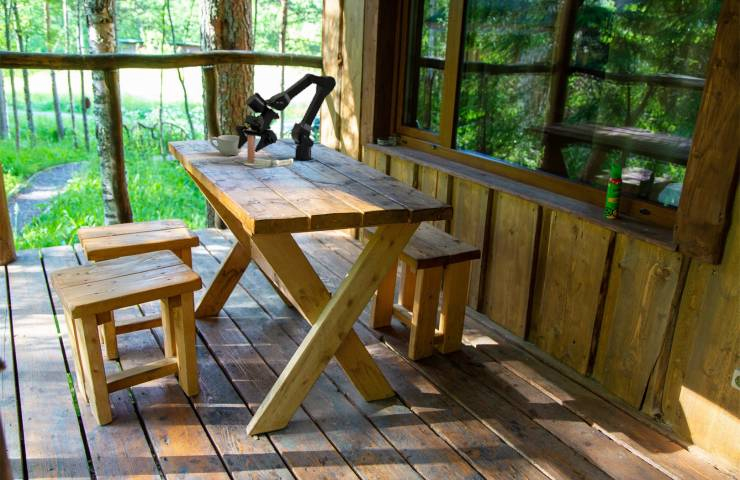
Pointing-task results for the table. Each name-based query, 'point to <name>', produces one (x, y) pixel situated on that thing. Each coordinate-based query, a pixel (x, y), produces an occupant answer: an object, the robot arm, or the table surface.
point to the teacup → (227, 144)
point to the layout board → (259, 165)
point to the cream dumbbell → (283, 162)
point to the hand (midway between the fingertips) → (246, 149)
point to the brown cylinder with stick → (252, 152)
